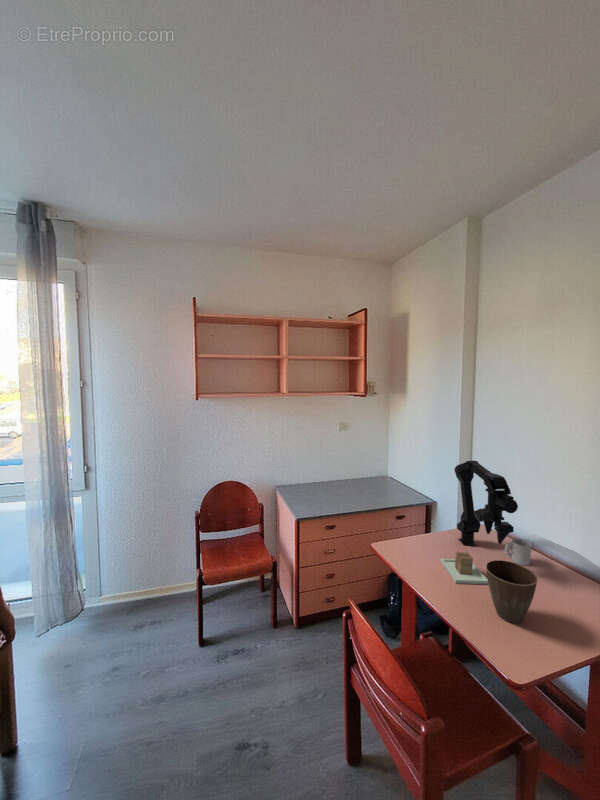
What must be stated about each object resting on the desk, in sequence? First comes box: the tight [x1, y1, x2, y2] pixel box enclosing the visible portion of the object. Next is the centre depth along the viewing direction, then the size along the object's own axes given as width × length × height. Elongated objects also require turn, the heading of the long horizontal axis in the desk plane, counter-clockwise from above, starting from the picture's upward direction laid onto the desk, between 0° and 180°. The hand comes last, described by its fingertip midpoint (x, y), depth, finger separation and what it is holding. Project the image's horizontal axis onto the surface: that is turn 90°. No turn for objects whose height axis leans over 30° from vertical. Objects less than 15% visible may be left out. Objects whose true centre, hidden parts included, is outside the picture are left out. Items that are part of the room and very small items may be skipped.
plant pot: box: [485, 559, 538, 624], centre depth 113 cm, size 15×15×16 cm
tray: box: [440, 558, 489, 586], centre depth 140 cm, size 16×13×2 cm
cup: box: [504, 538, 532, 566], centre depth 149 cm, size 7×10×9 cm
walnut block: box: [454, 551, 474, 575], centre depth 139 cm, size 5×5×7 cm
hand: (493, 538), depth 145 cm, fingers open, 9 cm apart
